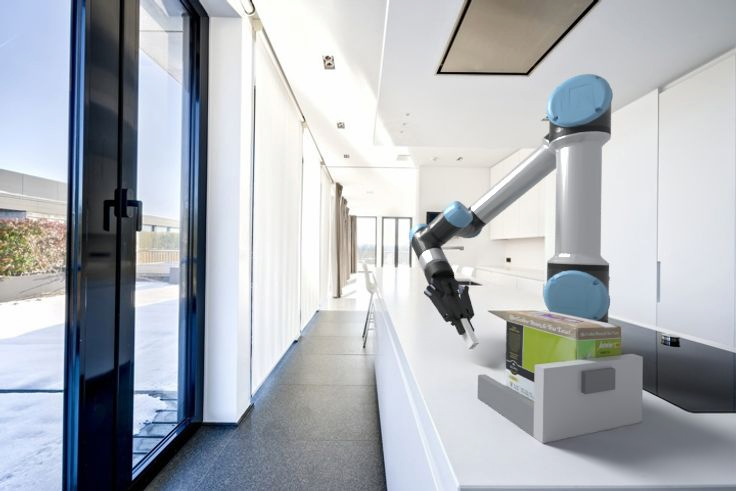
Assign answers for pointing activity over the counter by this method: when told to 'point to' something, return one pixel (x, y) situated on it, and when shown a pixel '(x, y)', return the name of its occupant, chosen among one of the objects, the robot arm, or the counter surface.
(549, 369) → the grey drawer
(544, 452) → the counter surface
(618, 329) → the tea box
